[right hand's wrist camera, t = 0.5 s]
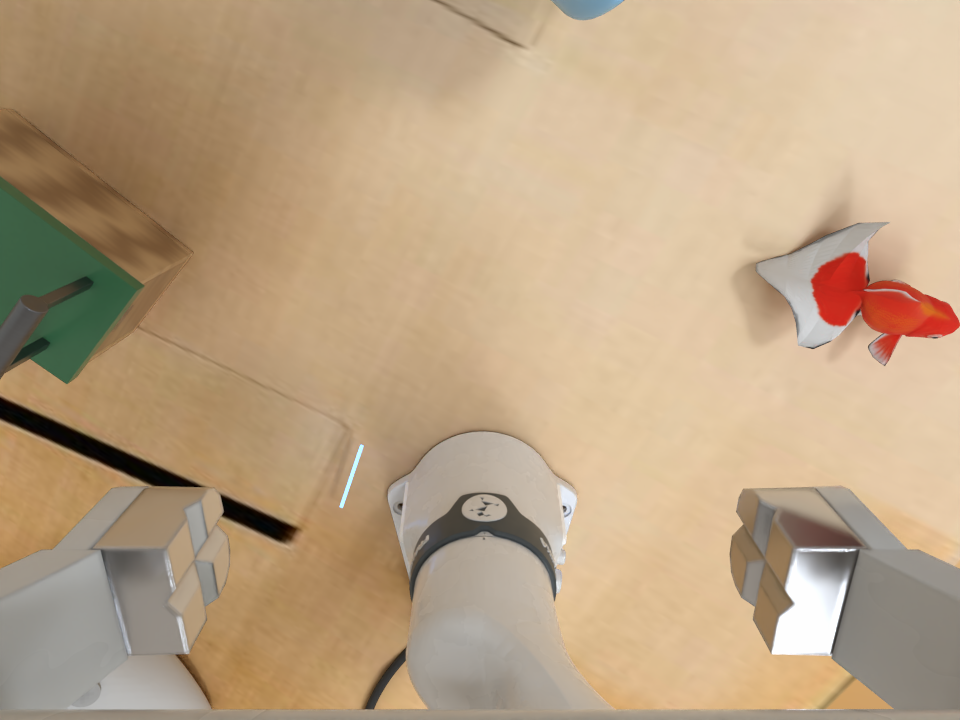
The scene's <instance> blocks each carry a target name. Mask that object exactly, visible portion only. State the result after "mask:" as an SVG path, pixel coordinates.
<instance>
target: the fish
mask: <svg viewBox="0 0 960 720" xmlns="http://www.w3.org/2000/svg"><path fill="white" fill-rule="evenodd" d="M888 223H890V222H882V223H857V224H855V225H852V226H849V227H847V228H844V229H842V230H839V231H836V232H834V233H831V234H829V235H826V236H824V237H822V238H820V239H818V240H817V241H815V242H813V243H811V244H809V245H807V246H805V247H803V248H801V249H799V250H797V251H795V252H793V253H791V254H789V255H784V256H780V257H775V258H772V259H768V260H765V261H761V262H759V263H757V264H756V272H757V273H758V274H759V275H760V276H761V277H762V278H763V279H765V280H766V281H767V282H768V283H769V284H770V285H771V286H773V287H774V288H775V289H776V290H777V291H778V292H780V293H781V294H782V295H783V296H784V297H785V298H786V300H787V302H788V303H789V305H790V307H791V308H792V311H793V315H794V318H795V321H796V328H797V338H798V346H803V347H807V348H811V349H814V348H817V347H819V346H821V345H824V344H826V343H828V342H830V341H832V340H833V339H834V338H836V337H837V336H838V335H839V334H840V333H841V332H842V331H843V330H844V329H845V328H846V327H847V326H848V325H849V324H850V323H851V321H852V320H853V319H854V318H855V317H856V316H857V315H862V317H863V319H864V321H865V322H866V323H867V324H868V326H870V327H871V328H872V329H873V330H875V331H878V332H881V333H883V334H882V335H880V336H879V337H878V338H876V339H875V340H874V341H873V342H872V343H870V344H869V346H868V348H869V351H870V353H871V354H872V356H873V357H874V358H875V359H876V360H877V361H878V362H880V363H881V364H883V365H884V366H885V365H886V363H887V362H888V361H889V359H890V357H891V355H892V353H893V351H894V349H895V347H896V345H897V343H898V341H899V339H900V338H901V336H902V335H905V336H908V337H925V338H940V337H942V336H945V335H948V334H951V333H953V332H954V331H955V330H956V329H958V328H959V326H960V323H959V320H958V318H957V316H956V315H955V313H954V311H953V309H952V308H951V306H950V305H949V304H948V303H946V302H943V301H940V300H938V299H936V298H933V297H931V296H929V295H924V294H922V293H921V292H920V291H918V290H916V289H915V288H912V287H911V286H910V285H908V284H906V283H904V282H902V281H900V280H892V281H879V282H876V283H873V284H871V285H869V286H867V285H868V283H869V281H870V279H869V271H868V264H867V258H868V241H869V239H870V238H871V237H872V236H873V235H874V234H875V233H876V232H877V231H878V230H879V229H880V228H881V227H883V226H884V225H886V224H888Z"/></svg>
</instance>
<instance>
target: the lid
mask: <svg viewBox="0 0 960 720" xmlns="http://www.w3.org/2000/svg"><path fill="white" fill-rule="evenodd" d="M144 287H145V285H143V284H142V283H141V282H139V281H138V280H137V279H135V278H134V277H133V276H131V275H130V274H129V273H127V272H126V271H125V270H123V269H122V268H121V267H119V266H118V265H117V264H115V263H114V262H113V261H112V260H110V259H109V258H108V257H106V256H105V255H104V254H102V253H101V252H100V251H98V250H97V249H96V248H94V247H93V246H92V245H90V244H89V243H88V242H86V241H85V240H84V239H82V238H81V237H80V236H79V235H77V234H76V233H75V232H73V231H72V230H71V229H69V228H68V227H67V226H65V225H64V224H63V223H61V222H60V221H59V220H57V219H56V218H55V217H53V216H52V215H51V214H49V213H48V212H47V211H46V210H44V209H43V208H42V207H40V206H39V205H38V204H36V203H35V202H34V201H32V200H31V199H30V198H28V197H27V196H26V195H24V194H23V193H22V192H20V191H19V190H18V189H16V188H15V187H14V186H13V185H11V184H10V183H9V182H7V181H6V180H5V179H3V178H2V177H1V176H0V379H1V377H2V376H3V375H4V373H6V372H8V371H9V370H11V369H13V368H15V367H16V366H18V365H20V364H22V363H23V362H25V361H27V360H28V359H31V360H33V361H34V362H35V363H37V364H38V365H40V366H41V367H43V368H44V369H46V370H47V371H49V372H50V373H51V374H53V375H54V376H56V377H57V378H59V379H60V380H62V381H63V382H64V383H66V384H68V383H69V382H71V381H72V380H74V379H75V378H76V377H77V376H78V375H79V373H80V372H81V371H82V369H83V368H84V367H85V365H86V364H87V363H88V361H89V360H90V359H91V357H92V356H93V355H94V353H95V352H96V351H97V349H98V348H99V347H100V345H101V344H102V343H103V341H104V340H105V339H106V337H107V336H108V335H109V333H110V332H111V331H112V329H113V328H114V327H115V325H116V324H117V323H118V321H119V320H120V319H121V317H122V316H123V315H124V313H125V312H126V311H127V309H128V308H129V307H130V305H131V304H132V303H133V301H134V300H135V299H136V297H137V296H138V295H139V293H140V292H141V291H142V289H143V288H144Z"/></svg>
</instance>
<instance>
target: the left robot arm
mask: <svg viewBox="0 0 960 720" xmlns="http://www.w3.org/2000/svg"><path fill="white" fill-rule="evenodd" d="M551 1H552V2H553V3H554V4H555V5H556V6H558V7H559V8H560V9H561V10H562V11H563V12H564V13H565V14H566V15H567V16H569V17H571V18H573V19H577V20H589V19H593V18H596V17H598V16H601V15H603V14H605V13H607V12H608V11H610V10H612V9H613V8H615V7H616V6H618V5H619V4H620V3H621V2H623V1H624V0H551Z"/></svg>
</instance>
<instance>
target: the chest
mask: <svg viewBox="0 0 960 720" xmlns="http://www.w3.org/2000/svg"><path fill="white" fill-rule="evenodd" d="M0 176H1V177H2V178H3V179H5V180H6V181H7V182H9V183H10V184H11V185H13V186H14V187H15V188H16V189H18V190H19V191H20V192H22V193H23V194H24V195H26V196H27V197H28V198H30V199H31V200H32V201H34V202H35V203H36V204H38V205H39V206H40V207H42V208H43V209H44V210H46V211H47V212H48V213H49V214H51V215H52V216H53V217H55V218H56V219H57V220H59V221H60V222H61V223H63V224H64V225H65V226H67V227H68V228H69V229H71V230H72V231H73V232H75V233H76V234H77V235H79V236H80V237H81V238H82V239H84V240H85V241H86V242H88V243H89V244H90V245H92V246H93V247H94V248H96V249H97V250H98V251H100V252H101V253H102V254H104V255H105V256H106V257H108V258H109V259H110V260H112V261H113V262H114V263H115V264H117V265H118V266H119V267H121V268H122V269H123V270H125V271H126V272H127V273H129V274H130V275H131V276H133V277H134V278H135V279H137V280H138V281H139V282H141V283H142V284H143V285H145V287H144V288H143V289H142V291H141V292H140V293H139V295H138V296H137V297H136V299H135V300H134V301H133V303H132V304H131V305H130V307H129V308H128V309H127V311H126V312H125V313H124V315H123V316H122V317H121V319H120V320H119V321H118V323H117V324H116V325H115V327H114V328H113V329H112V331H111V332H110V333H109V335H108V336H107V337H106V339H105V340H104V341H103V343H102V344H101V345H100V347H99V348H98V349H97V351H96V352H95V353H94V355H93V356H92V357H91V359H90V360H89V361H88V362H90V361H91V360H93V359H94V358H96V357H97V356H99V355H100V354H102V353H103V352H105V351H106V350H107V349H109V348H110V347H112V346H113V345H115V344H116V343H118V342H119V341H121V340H122V339H124V338H125V337H127V336H128V335H129V334H131V333H133V332H134V331H135V329H136V328H137V327H138V325H139V324H140V323H141V321H142V320H143V319H144V317H145V316H146V315H147V314H148V312H149V311H150V310H151V308H152V307H153V306H154V304H155V303H156V302H157V300H158V299H159V298H160V297H161V295H162V294H163V293H164V291H165V290H166V289H167V287H168V286H169V285H170V283H171V282H172V281H173V280H174V278H175V277H176V276H177V274H178V273H179V272H180V270H181V269H182V268H183V266H184V265H185V264H186V262H187V261H188V260H189V259H190V257H191V256H192V255H193V252H192V251H191V250H190V249H188V248H187V247H186V246H184V245H183V244H182V243H181V242H179V241H178V240H177V239H176V238H174V237H173V236H172V235H171V234H169V233H168V232H167V231H165V230H164V229H163V228H162V227H160V226H159V225H158V224H157V223H155V222H154V221H153V220H152V219H150V218H149V217H148V216H146V215H145V214H144V213H143V212H141V211H140V210H139V209H138V208H136V207H135V206H134V205H133V204H131V203H130V202H129V201H127V200H126V199H125V198H124V197H122V196H121V195H120V194H119V193H117V192H116V191H115V190H114V189H112V188H111V187H110V186H108V185H107V184H106V183H105V182H103V181H102V180H101V179H100V178H98V177H97V176H96V175H95V174H93V173H92V172H91V171H89V170H88V169H87V168H86V167H84V166H83V165H82V164H81V163H79V162H78V161H77V160H76V159H74V158H73V157H72V156H70V155H69V154H68V153H67V152H65V151H64V150H63V149H62V148H60V147H59V146H58V145H57V144H55V143H54V142H53V141H51V140H50V139H49V138H48V137H46V136H45V135H44V134H43V133H41V132H40V131H39V130H38V129H36V128H35V127H34V126H33V125H31V124H30V123H29V122H27V121H26V120H25V119H24V118H22V117H21V116H20V115H19V114H17V113H16V112H15V111H14V110H12V109H0Z"/></svg>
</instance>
